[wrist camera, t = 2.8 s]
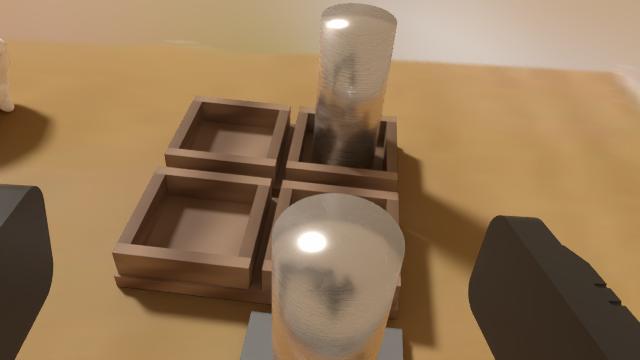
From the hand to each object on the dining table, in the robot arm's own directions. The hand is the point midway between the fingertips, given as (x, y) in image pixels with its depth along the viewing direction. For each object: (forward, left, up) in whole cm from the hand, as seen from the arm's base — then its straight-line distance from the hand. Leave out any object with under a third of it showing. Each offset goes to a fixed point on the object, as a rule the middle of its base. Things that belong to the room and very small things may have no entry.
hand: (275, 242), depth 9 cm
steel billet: (+5, +5, -19) cm, 20 cm away
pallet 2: (+6, +16, -20) cm, 26 cm away
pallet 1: (+10, +25, -20) cm, 33 cm away
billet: (+14, +22, -19) cm, 33 cm away
